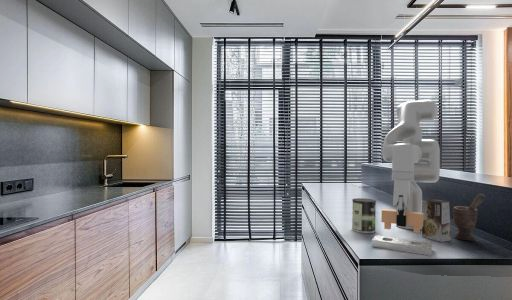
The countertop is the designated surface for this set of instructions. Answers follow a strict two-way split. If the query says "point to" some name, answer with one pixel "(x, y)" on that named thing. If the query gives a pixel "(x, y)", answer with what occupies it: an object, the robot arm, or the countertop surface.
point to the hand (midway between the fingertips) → (401, 224)
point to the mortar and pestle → (466, 219)
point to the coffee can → (363, 215)
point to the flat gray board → (402, 245)
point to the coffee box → (436, 220)
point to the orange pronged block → (411, 219)
